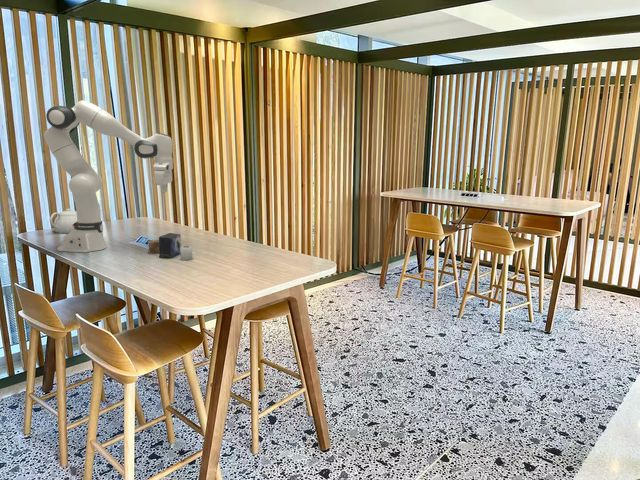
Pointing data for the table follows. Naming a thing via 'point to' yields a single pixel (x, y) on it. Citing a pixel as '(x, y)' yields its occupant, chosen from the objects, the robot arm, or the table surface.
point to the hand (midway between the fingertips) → (164, 192)
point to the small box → (169, 245)
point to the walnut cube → (153, 246)
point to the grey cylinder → (186, 252)
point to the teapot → (64, 221)
